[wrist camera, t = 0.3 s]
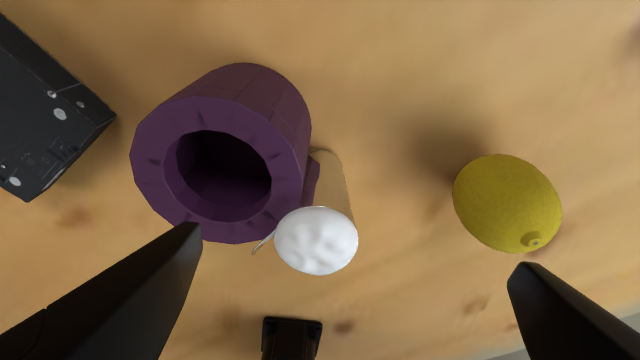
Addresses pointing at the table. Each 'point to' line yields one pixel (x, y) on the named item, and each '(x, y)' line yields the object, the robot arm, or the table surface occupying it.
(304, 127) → the jar
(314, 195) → the shiny round-topped post
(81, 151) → the disk drive
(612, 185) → the table surface
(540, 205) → the lemon
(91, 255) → the table surface
